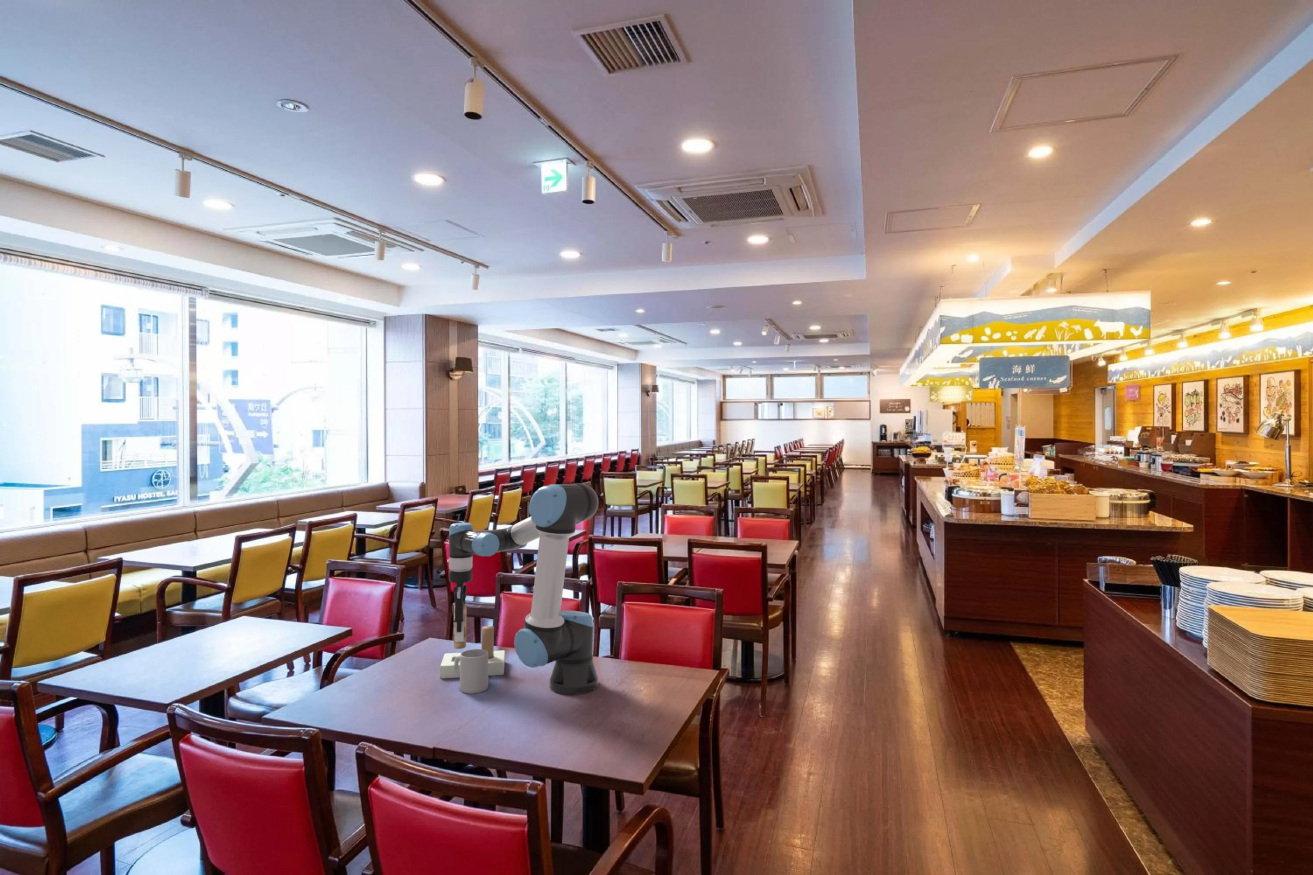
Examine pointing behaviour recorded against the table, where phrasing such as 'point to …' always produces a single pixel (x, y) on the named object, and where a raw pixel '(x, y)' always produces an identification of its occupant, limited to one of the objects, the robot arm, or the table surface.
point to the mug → (472, 670)
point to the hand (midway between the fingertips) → (459, 639)
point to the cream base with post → (487, 643)
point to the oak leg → (463, 644)
